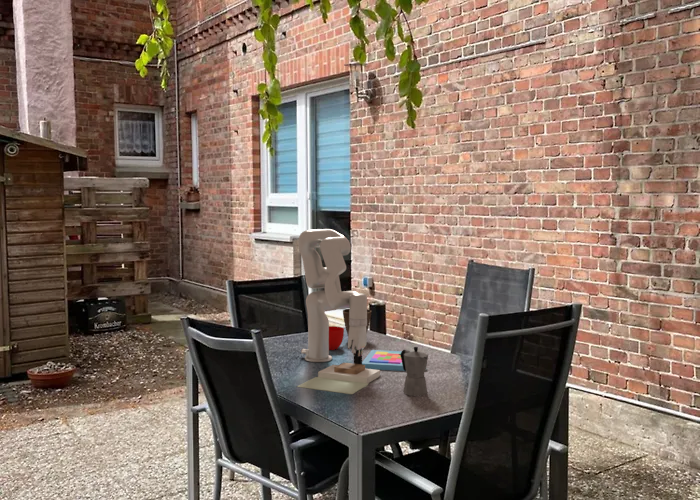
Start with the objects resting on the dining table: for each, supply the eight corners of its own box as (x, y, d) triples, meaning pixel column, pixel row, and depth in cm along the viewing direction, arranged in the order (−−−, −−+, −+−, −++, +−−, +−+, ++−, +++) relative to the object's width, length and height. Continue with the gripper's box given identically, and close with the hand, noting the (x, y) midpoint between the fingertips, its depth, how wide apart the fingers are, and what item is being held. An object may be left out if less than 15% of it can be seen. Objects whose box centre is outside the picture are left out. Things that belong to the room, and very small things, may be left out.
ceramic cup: (352, 346, 352) (352, 326, 351) (335, 352, 337) (335, 332, 336) (330, 343, 358) (330, 324, 358) (312, 349, 344) (312, 329, 343)
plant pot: (371, 344, 357) (371, 313, 355) (342, 344, 357) (342, 313, 356) (370, 338, 371) (371, 308, 370) (342, 338, 372) (343, 308, 370)
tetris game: (361, 369, 306) (425, 373, 301) (361, 363, 306) (425, 367, 301) (371, 355, 334) (430, 358, 328) (371, 349, 334) (430, 352, 328)
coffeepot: (436, 395, 266) (436, 348, 265) (417, 399, 261) (417, 351, 259) (410, 386, 279) (410, 341, 277) (391, 389, 273) (391, 344, 272)
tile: (334, 371, 291) (334, 367, 290) (343, 367, 299) (343, 362, 298) (356, 374, 286) (356, 369, 286) (365, 369, 294) (365, 364, 294)
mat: (297, 386, 276) (297, 386, 276) (316, 377, 291) (316, 376, 291) (352, 394, 266) (352, 393, 266) (368, 384, 281) (368, 383, 281)
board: (318, 377, 291) (318, 371, 290) (333, 370, 303) (333, 364, 303) (366, 384, 281) (366, 377, 281) (380, 376, 294) (380, 370, 294)
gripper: (357, 318, 307) (357, 360, 308) (342, 324, 293) (342, 367, 294) (373, 320, 303) (372, 361, 305) (359, 325, 290) (358, 369, 291)
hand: (357, 364), depth 300 cm, fingers closed
